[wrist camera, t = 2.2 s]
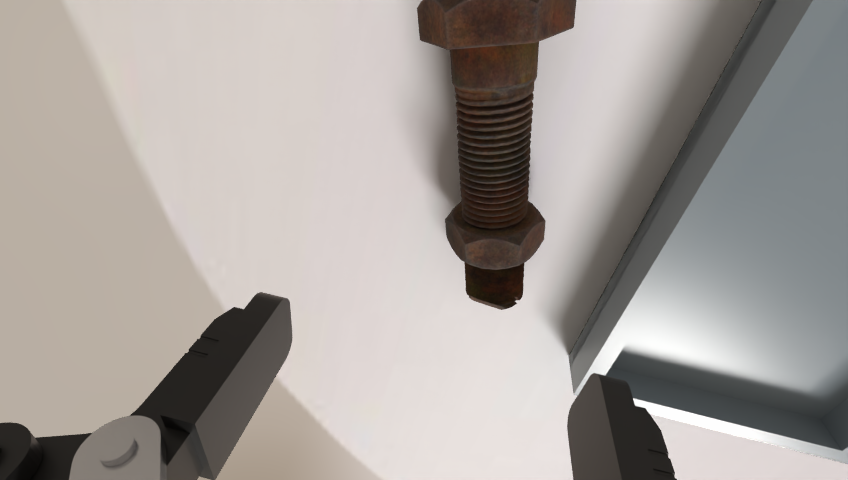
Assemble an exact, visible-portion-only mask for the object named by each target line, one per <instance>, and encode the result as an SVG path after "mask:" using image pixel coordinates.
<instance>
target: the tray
mask: <svg viewBox="0 0 848 480" xmlns="http://www.w3.org/2000/svg"><path fill="white" fill-rule="evenodd" d="M569 363H570V371H571V378H572V385H573V393H574V395H577V396H578V394H579V393H580V391H581V390H582V388H583V386H584V385H585V383H586V381H587V380H588V378H589V377H590V375H591V374H593V373H596V374H601V375H605V376H609V377H613V378H617V379H621V380H625V381H626V382H627V383H628V385H629V387H630V390H631V393H632V397H633V400H634V404H635V406H639V407H643V408H646V410H647V411H648V412H649V414H652V415H656V416H660V417H664V418H668V419H672V420H676V421H680V422H684V423H688V424H692V425H696V426H700V427H703V428H707V429H711V430H715V431H719V432H723V433H727V434H731V435H735V436H739V437H743V438H747V439H751V440H755V441H759V442H763V443H767V444H770V445H774V446H778V447H782V448H786V449H790V450H794V451H798V452H802V453H806V454H810V455H814V456H818V457H822V458H826V459H830V460H834V461H837V462H841V463H845V464H848V0H762V1H761V3H760V5H759V7H758V9H757V11H756V12H755V14H754V16H753V18H752V20H751V22H750V23H749V25H748V27H747V29H746V31H745V33H744V35H743V36H742V38H741V40H740V42H739V44H738V46H737V47H736V49H735V51H734V53H733V55H732V57H731V58H730V60H729V62H728V64H727V66H726V68H725V69H724V71H723V73H722V75H721V77H720V79H719V81H718V82H717V84H716V86H715V88H714V90H713V92H712V93H711V95H710V97H709V99H708V101H707V103H706V104H705V106H704V108H703V110H702V112H701V114H700V115H699V117H698V119H697V121H696V123H695V125H694V127H693V128H692V130H691V132H690V134H689V136H688V138H687V139H686V141H685V143H684V145H683V147H682V149H681V150H680V152H679V154H678V156H677V158H676V160H675V161H674V163H673V165H672V167H671V169H670V171H669V173H668V174H667V176H666V178H665V180H664V182H663V184H662V185H661V187H660V189H659V191H658V193H657V195H656V196H655V198H654V200H653V202H652V204H651V206H650V207H649V209H648V211H647V213H646V215H645V217H644V219H643V220H642V222H641V224H640V226H639V228H638V230H637V231H636V233H635V235H634V237H633V239H632V241H631V242H630V244H629V246H628V248H627V250H626V252H625V254H624V255H623V257H622V259H621V261H620V263H619V265H618V266H617V268H616V270H615V272H614V274H613V276H612V277H611V279H610V281H609V283H608V285H607V287H606V288H605V290H604V292H603V294H602V296H601V298H600V300H599V301H598V303H597V305H596V307H595V309H594V311H593V312H592V314H591V316H590V318H589V320H588V322H587V323H586V325H585V327H584V329H583V331H582V333H581V334H580V336H579V338H578V340H577V342H576V344H575V346H574V347H573V349H572V351H571V353H570V355H569Z"/></svg>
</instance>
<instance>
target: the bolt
mask: <svg viewBox="0 0 848 480" xmlns="http://www.w3.org/2000/svg"><path fill="white" fill-rule="evenodd" d="M575 8H576V0H423V1H422V2H421V3H420V5H419V6H418V8H417V11H418V23H419V34H420V40H421V41H424V42H427V43H430V44H433V45H436V46H439V47H442V48H445V49H448V50H450V52H451V67H452V82H453V84H454V86H455V92H456V93H457V94H456V95H455V98H456V100H457V102H456V107H457V109H458V110H457V112H456V114H457V116H458V118H457V124H458V126H457V130H458V132H459V133H458V135H457V137H458V139H459V141H458V147H459V149H458V153H459V161H460V162H459V165H460V169H459V172H460V180H461V182H460V185H461V193H462V194H461V197H462V201H461V203H459V204H458V205H457V206H456V207H455V208H454V209H453V210H452V211H451V213H450V214H449V215H448V217H447V218H446V219H445V223H446V235H447V239H448V241H449V243H450V245H451V247H452V249H453V250H454V252H455V253H456V255H457V256H458V257H459V258H460V259H461V260H462V261H464V262H465V278H466V279H465V280H466V292H467V295H469V298H470V299H472V300H474V301H476V302H479V303H482V304H485V305H488V306H491V307H495V308H498V309H501V310H503V309H507V308H510V307H512V306H514V305H515V304H517V303H516V302H515V301H516V300H520V299H521V298H522V295H523V277H524V273H523V272H524V262H526V261H527V260H529V259H530V258H531V257H532V256H533V254H534V253H535V252H536V251H537V249H538V248H539V246H540V245H541V243H542V241H543V240H544V231H545V220H544V218H543V217H542V215H541V214H540V212H539V211H538V210H537V209H536V207H535V206H534V205H533V204H532V203H530V202H529V201H528V187H529V182H528V181H529V173H530V172H529V167H530V164H529V161H530V155H529V154H530V143H531V141H530V138H531V133H530V132H531V123H532V118H531V117H532V114H533V112H532V108H533V103H532V100H533V93H532V92H533V91H534V81H535V79H536V78H537V64H538V48H539V41H541V40H544V39H546V38H549V37H551V36H554V35H556V34H559V33H561V32H564V31H566V30H569V29H572V28H573V27H574V19H575Z"/></svg>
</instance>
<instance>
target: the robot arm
mask: <svg viewBox="0 0 848 480" xmlns="http://www.w3.org/2000/svg"><path fill="white" fill-rule="evenodd" d="M291 343H292V325H291V312H290V302H289V300H288V299H287V298H283V297H279V296H275V295H270V294H266V293H262V292H260V293H258V294H256V295H255V296H254V297H253V299H252V300H251V301H250V302H249V304H248V305H247V306H246V307H245V309H240V308H236V307H234V308H232V309H230V310H229V311H227V312H226V313H224V314H222V315H221V316H219V317H218V318H216V319H215V320H214V321H213V322H212V323H211V324H210V325H209V327H208V328H207V329H206V330H205V331H204V332H203V334H202V335H201V338H200V339H197V341H196V342H195V343H194V344H193V345H192V347H191V348H190V349H189V352H188V353H185V355H184V356H183V357H182V358H181V359H180V361H179V362H178V363H177V364H176V365H175V366H174V367H173V369H172V370H171V371H170V372H169V373H168V374H167V376H166V377H165V378H164V379H163V380H162V381H161V383H160V384H159V385H158V386H157V387H156V388H155V390H154V391H153V392H152V393H151V394H150V396H149V397H148V398H147V399H146V400H145V401H144V402H143V404H142V405H141V406H140V407H139V408H138V409H137V410H136V411H135V412H133V413H132V414H131V415H130V416H127V417H122V418H119V419H116V420H113V421H112V422H109V423H107V424H105V425H104V426H102V427H100V428H99V429H97V430H96V431H95V432H93V433H88V434H80V435H65V436H52V437H40V438H35V437H34V436H33V435H32V434H31V433H30V431H29V430H28V429H27V428H26V427H25V426H23V425H21V424H18V423H0V480H197V479H198V477H199V476H200V477H204V478H207V479H211V480H215V479H216V478H217V476H218V474H219V472H220V471H221V469H222V467H223V466H224V464H225V462H226V460H227V459H228V457H229V455H230V454H231V452H232V450H233V449H234V447H235V445H236V443H237V442H238V440H239V438H240V437H241V435H242V433H243V431H244V430H245V428H246V426H247V425H248V423H249V421H250V419H251V418H252V416H253V414H254V413H255V411H256V409H257V407H258V406H259V404H260V402H261V401H262V399H263V397H264V395H265V394H266V392H267V390H268V389H269V387H270V385H271V383H272V382H273V380H274V378H275V377H276V375H277V373H278V372H279V370H280V368H281V367H282V365H283V363H284V361H285V360H286V358H287V356H288V353H289V351H290V347H291ZM567 429H568V438H569V447H570V455H571V463H572V471H573V479H574V480H677V479H675V477H674V475H675V472H674V469H673V466H672V463H671V460H670V459H669V458H668V451H667V448H666V445H665V442H664V439H663V436H662V432H661V430H660V428H659V427H658V426H657V424H656V423H655V421H654V420H653V418H652V417H651V415H650V414H649V412H648V411H647V410H646V408H643V407H639V406H635V404H634V400H633V397H632V393H631V390H630V387H629V385H628V383H627V382H626V381H625V380H621V379H617V378H613V377H609V376H605V375H601V374H596V373H593V374H591V375H590V377H589V378H588V380H587V381H586V383H585V385H584V386H583V388H582V390H581V391H580V393H579V394H578V396H577V398H576V399H575V401H574V403H573V404H572V406H571V408H570V411H569V415H568V424H567Z"/></svg>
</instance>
